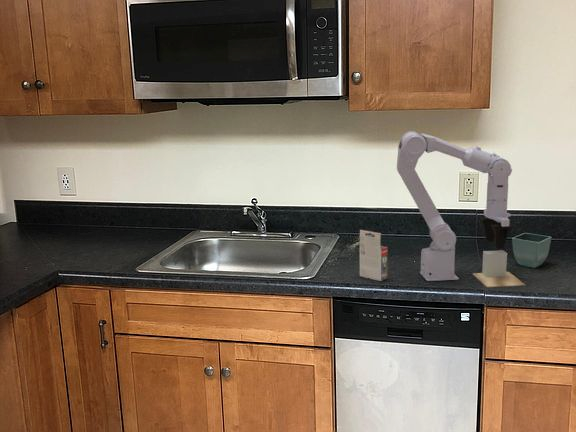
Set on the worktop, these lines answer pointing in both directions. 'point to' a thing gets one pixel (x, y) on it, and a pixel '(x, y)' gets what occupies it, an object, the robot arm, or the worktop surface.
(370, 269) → the ink box
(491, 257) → the slab
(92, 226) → the worktop surface
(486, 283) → the board
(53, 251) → the worktop surface
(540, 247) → the flower pot
